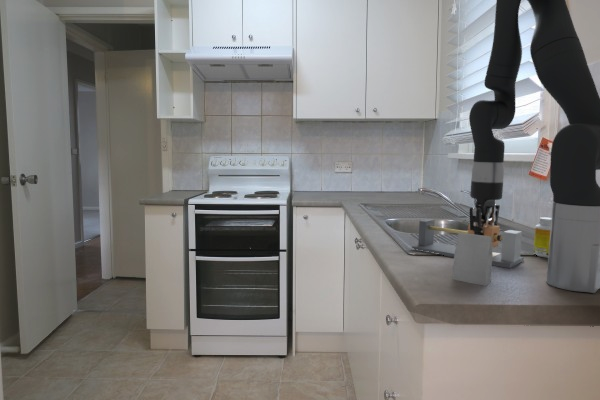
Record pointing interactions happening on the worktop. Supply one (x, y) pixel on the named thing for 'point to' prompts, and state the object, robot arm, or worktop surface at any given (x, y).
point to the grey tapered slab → (473, 259)
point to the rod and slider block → (426, 233)
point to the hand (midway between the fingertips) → (482, 245)
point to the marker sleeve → (489, 233)
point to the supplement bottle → (542, 237)
